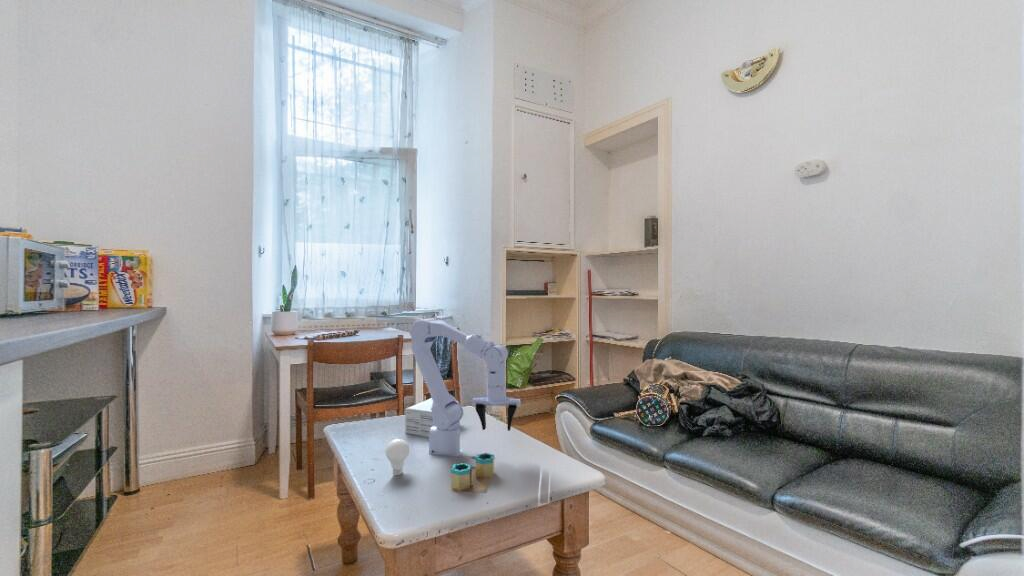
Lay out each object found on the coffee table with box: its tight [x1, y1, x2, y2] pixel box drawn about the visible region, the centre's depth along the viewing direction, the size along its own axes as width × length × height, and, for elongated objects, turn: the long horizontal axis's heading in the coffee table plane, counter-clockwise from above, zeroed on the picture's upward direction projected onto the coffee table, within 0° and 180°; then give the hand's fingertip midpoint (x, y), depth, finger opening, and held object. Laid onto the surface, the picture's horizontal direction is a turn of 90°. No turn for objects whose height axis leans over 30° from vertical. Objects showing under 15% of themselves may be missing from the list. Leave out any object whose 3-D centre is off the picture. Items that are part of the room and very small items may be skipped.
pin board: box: [451, 469, 492, 494], centre depth 117 cm, size 9×13×6 cm
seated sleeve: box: [450, 462, 473, 492], centre depth 114 cm, size 5×6×5 cm
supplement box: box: [404, 397, 460, 438], centre depth 164 cm, size 17×13×9 cm
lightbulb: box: [385, 438, 410, 477], centre depth 122 cm, size 6×6×11 cm
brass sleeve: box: [474, 452, 495, 479], centre depth 121 cm, size 5×6×5 cm
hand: (496, 429), depth 133 cm, fingers open, 7 cm apart
